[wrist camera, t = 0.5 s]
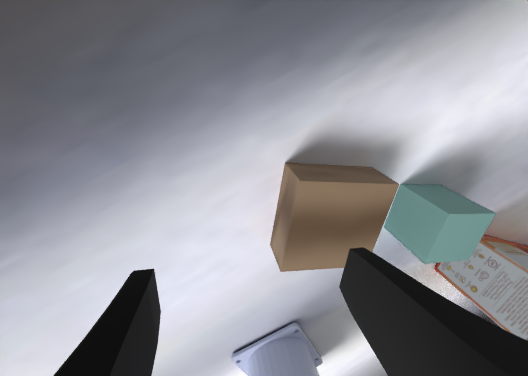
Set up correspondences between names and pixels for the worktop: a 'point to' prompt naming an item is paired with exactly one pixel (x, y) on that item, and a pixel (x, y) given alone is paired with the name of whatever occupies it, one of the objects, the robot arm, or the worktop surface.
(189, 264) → the worktop surface
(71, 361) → the robot arm
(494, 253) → the cracker box
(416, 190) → the teal cube
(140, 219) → the worktop surface
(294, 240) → the walnut block
